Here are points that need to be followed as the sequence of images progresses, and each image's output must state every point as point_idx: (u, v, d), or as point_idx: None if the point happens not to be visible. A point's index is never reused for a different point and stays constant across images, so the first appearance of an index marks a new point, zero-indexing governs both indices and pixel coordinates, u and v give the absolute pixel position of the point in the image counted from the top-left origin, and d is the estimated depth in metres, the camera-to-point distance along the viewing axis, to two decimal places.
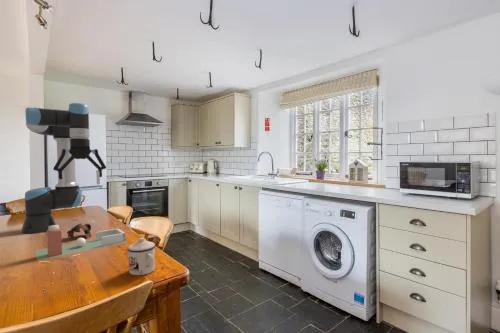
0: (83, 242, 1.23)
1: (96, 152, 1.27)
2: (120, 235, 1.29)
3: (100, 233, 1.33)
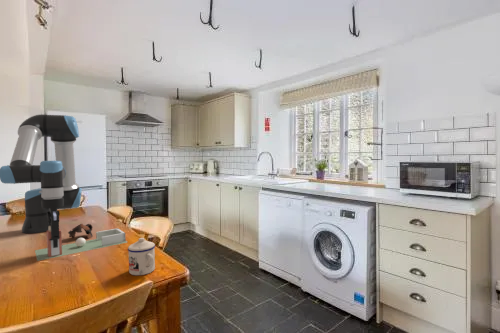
0: (83, 242, 1.23)
1: (51, 219, 1.09)
2: (120, 235, 1.29)
3: (100, 233, 1.33)
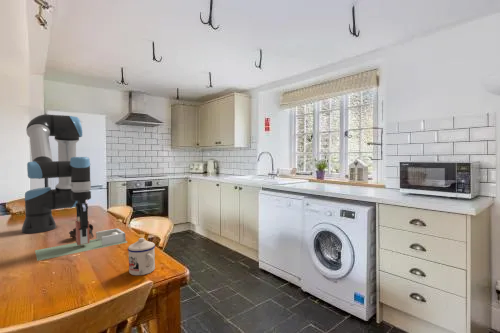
0: None
1: (81, 210, 1.19)
2: (120, 235, 1.29)
3: (100, 233, 1.33)
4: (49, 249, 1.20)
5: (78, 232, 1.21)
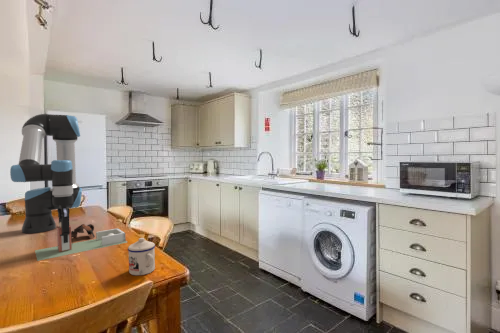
0: None
1: (62, 215, 1.14)
2: (120, 235, 1.29)
3: (100, 233, 1.33)
4: (49, 249, 1.20)
5: (59, 238, 1.17)
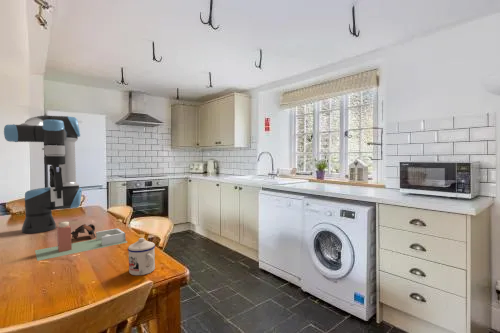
0: None
1: (54, 171, 1.14)
2: (120, 235, 1.29)
3: (100, 233, 1.33)
4: (49, 249, 1.20)
5: (59, 239, 1.17)
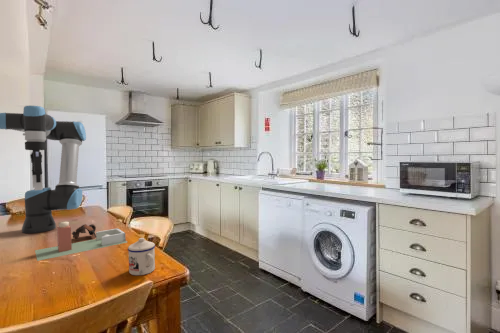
0: None
1: (33, 155, 1.17)
2: (120, 235, 1.29)
3: (100, 233, 1.33)
4: (49, 249, 1.20)
5: (59, 239, 1.17)
